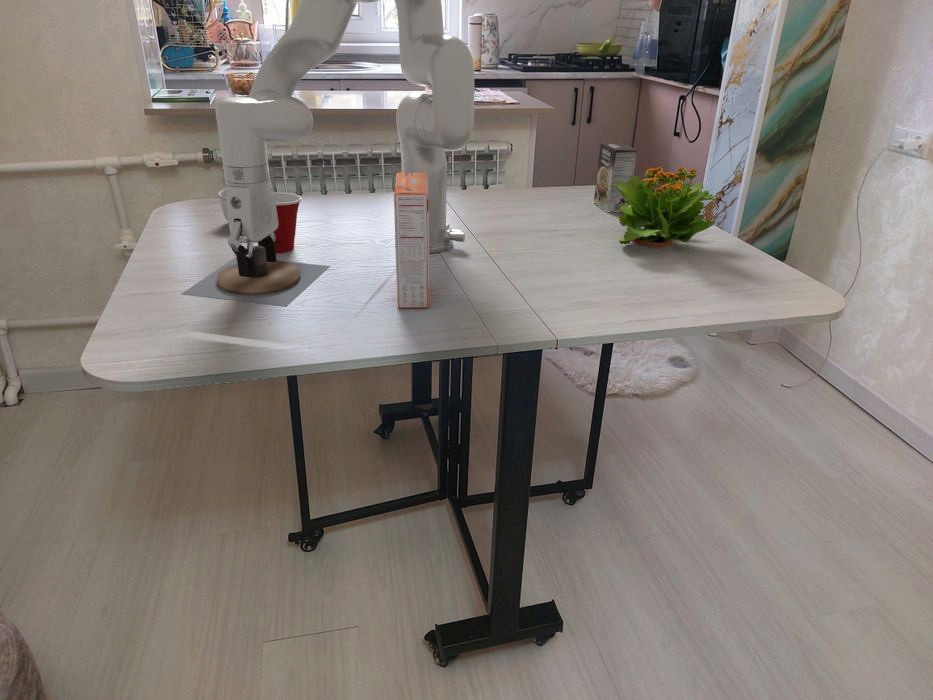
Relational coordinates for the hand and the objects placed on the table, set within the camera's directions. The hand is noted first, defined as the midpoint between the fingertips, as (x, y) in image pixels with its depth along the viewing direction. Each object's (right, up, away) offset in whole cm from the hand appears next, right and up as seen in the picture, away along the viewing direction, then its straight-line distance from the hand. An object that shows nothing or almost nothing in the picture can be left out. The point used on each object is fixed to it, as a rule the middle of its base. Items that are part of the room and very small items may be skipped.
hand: (258, 268), depth 126 cm
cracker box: (+29, -5, -1) cm, 29 cm away
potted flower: (+82, +10, +31) cm, 88 cm away
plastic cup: (-1, +5, +17) cm, 18 cm away
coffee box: (+77, +23, +54) cm, 97 cm away
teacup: (-13, +15, +34) cm, 40 cm away
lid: (0, -2, +1) cm, 2 cm away
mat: (0, -3, +1) cm, 3 cm away
